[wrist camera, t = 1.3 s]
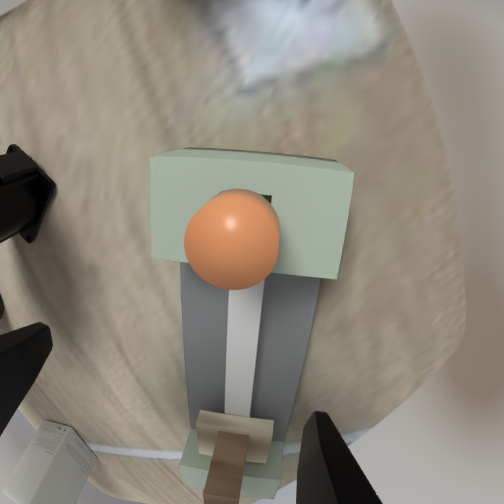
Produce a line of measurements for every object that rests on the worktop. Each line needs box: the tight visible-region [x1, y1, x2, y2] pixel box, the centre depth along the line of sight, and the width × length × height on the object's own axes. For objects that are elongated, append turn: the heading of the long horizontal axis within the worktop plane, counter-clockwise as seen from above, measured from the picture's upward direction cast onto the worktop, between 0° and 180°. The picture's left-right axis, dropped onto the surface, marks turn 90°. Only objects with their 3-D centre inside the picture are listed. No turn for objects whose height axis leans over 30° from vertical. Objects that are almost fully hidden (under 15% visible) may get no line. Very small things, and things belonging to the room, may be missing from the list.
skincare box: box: [2, 420, 97, 504], centre depth 29 cm, size 8×7×16 cm
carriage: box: [196, 410, 274, 504], centre depth 21 cm, size 5×6×8 cm
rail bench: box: [150, 148, 354, 499], centre depth 21 cm, size 30×9×6 cm, turn 175°
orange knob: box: [184, 189, 280, 290], centre depth 12 cm, size 3×3×4 cm
